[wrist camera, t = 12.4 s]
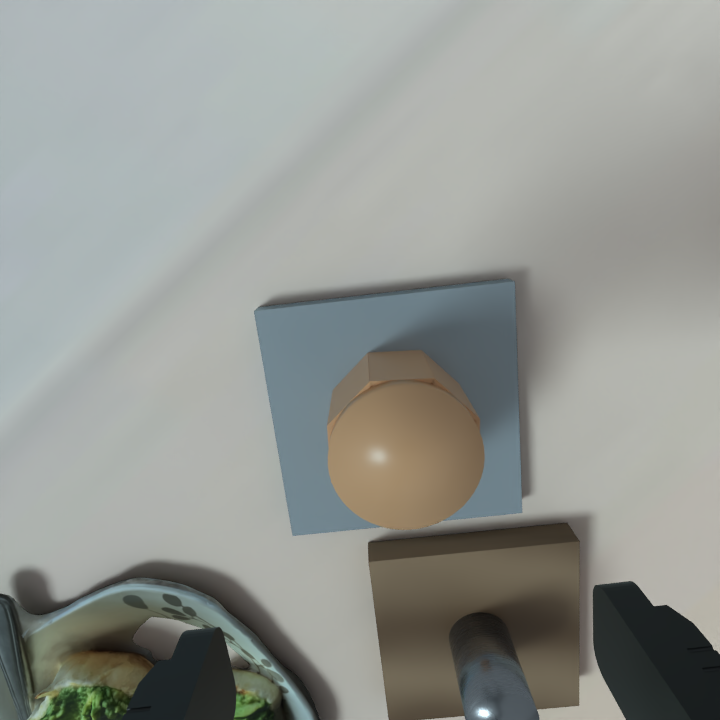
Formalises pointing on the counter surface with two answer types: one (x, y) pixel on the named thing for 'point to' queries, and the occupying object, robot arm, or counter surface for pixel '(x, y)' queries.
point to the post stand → (478, 623)
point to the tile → (382, 334)
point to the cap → (403, 441)
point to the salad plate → (125, 656)
